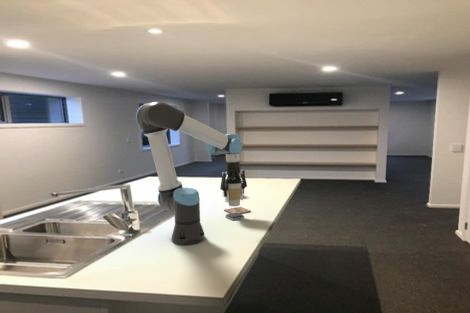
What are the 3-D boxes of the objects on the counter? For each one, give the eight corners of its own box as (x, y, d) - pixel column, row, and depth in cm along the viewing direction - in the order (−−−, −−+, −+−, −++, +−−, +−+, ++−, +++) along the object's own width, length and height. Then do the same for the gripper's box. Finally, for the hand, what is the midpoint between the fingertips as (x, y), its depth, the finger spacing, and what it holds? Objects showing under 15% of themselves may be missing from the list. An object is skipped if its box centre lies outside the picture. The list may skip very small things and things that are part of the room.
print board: (233, 215, 187) (233, 213, 187) (224, 210, 197) (224, 209, 197) (250, 212, 193) (250, 210, 193) (240, 207, 203) (240, 206, 203)
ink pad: (232, 220, 176) (231, 217, 176) (225, 217, 183) (225, 214, 183) (244, 218, 180) (244, 215, 180) (237, 215, 187) (237, 212, 187)
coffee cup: (244, 203, 185) (243, 177, 183) (240, 207, 175) (239, 180, 174) (228, 202, 187) (227, 177, 186) (223, 206, 178) (222, 180, 177)
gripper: (218, 163, 170) (220, 205, 172) (252, 160, 181) (253, 199, 183) (212, 162, 177) (214, 202, 179) (245, 159, 187) (247, 197, 189)
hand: (234, 200), depth 181 cm, fingers closed on coffee cup, 9 cm apart
